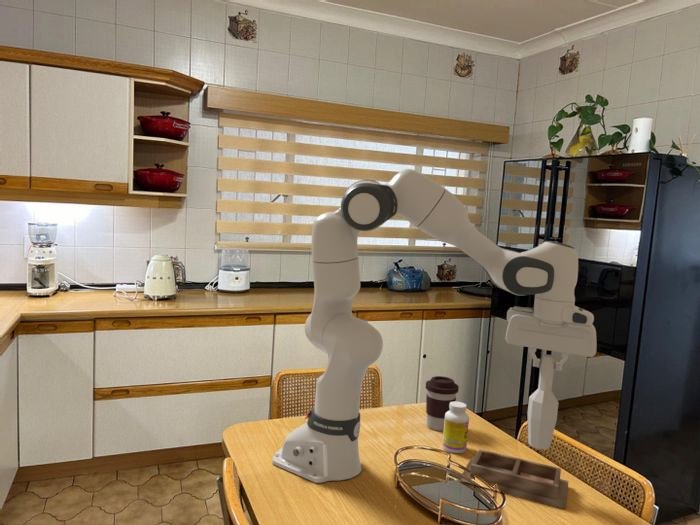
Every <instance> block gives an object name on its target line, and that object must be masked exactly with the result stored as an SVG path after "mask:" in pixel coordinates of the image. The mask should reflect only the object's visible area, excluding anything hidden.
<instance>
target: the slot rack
mask: <svg viewBox="0 0 700 525" xmlns="http://www.w3.org/2000/svg"><path fill="white" fill-rule="evenodd" d="M465 468H467V469H468V470H470V471H471V472H470V473H469V472H467V471H465V469H464V470H463V472H462V473H461V475H464V476H465V477H466V478H469V479H474V480H475V477H474V475H473V474H475V475H478V476H479V477H481V478H482V479H484V480H485V481H486V482H488V483H489V484H490V485H492V486H494V485H495V484H496V483H497V484H498V486H499V487H500V488H501V490H502V491H503V492H504V493H503V494H505V495H508V496H509V495H510V496H513V497H516V498H520V499H524V500H527V501H528V500H529V501H531V502H536V503H539V504H543V505H547V506H550V507H555V508H558V509H563V510H566V506H567V498H568V497H567V496H568V490H569V480H566V479H563V478H561V471H562V468H561V467H557V466H553V465H547V464H543V463H540V462H535V461H531V460H527V459H523V458H518V457H515V456H514V457H513V456H510V455H505V454H501V453H497V452H494V451H490V450H485V449H481V448H479V449H478V451H477V453H476V455H475V457H471V458H470V459H469V461H468V463H467V464H466V467H465Z"/></svg>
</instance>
